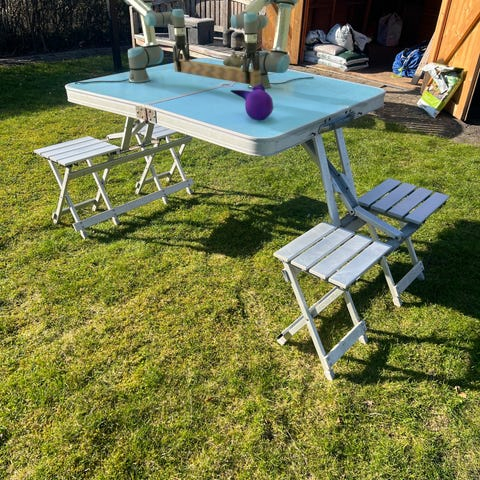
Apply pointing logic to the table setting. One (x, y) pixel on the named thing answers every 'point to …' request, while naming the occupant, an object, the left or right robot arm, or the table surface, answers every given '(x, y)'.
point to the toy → (256, 102)
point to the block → (218, 71)
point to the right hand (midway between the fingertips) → (251, 82)
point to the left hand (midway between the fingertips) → (182, 70)
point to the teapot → (233, 60)
